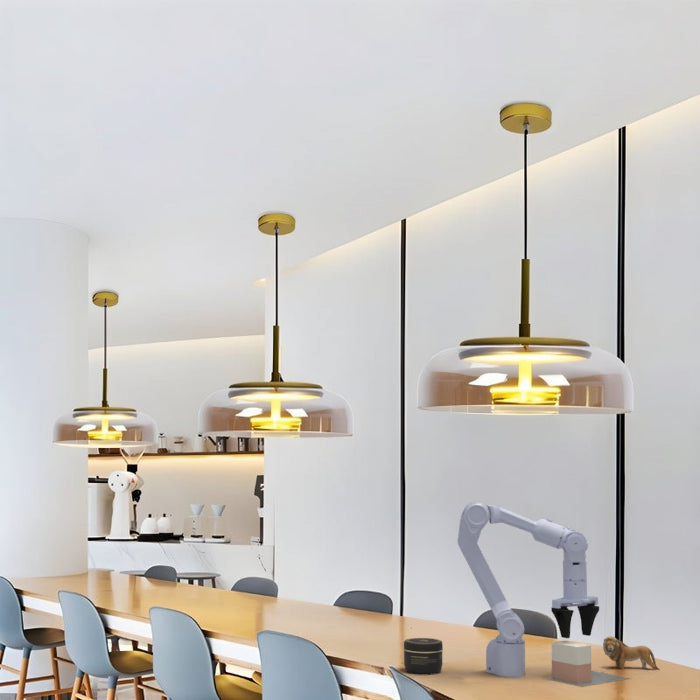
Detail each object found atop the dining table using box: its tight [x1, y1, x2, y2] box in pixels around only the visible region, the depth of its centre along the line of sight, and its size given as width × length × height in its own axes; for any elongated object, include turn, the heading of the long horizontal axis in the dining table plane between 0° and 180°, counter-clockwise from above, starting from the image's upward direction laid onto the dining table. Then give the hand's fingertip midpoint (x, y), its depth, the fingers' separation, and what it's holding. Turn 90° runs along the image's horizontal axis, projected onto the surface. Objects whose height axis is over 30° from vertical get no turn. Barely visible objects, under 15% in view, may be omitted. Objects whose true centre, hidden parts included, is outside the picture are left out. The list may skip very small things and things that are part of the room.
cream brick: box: [551, 640, 592, 665], centre depth 241 cm, size 8×5×4 cm, turn 36°
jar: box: [403, 637, 444, 675], centre depth 254 cm, size 10×10×8 cm
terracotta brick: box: [551, 659, 592, 684], centre depth 240 cm, size 8×5×4 cm, turn 36°
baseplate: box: [542, 670, 632, 688], centre depth 242 cm, size 12×18×1 cm, turn 126°
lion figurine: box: [602, 636, 661, 671], centre depth 256 cm, size 15×5×9 cm, turn 94°
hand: (576, 636), depth 246 cm, fingers open, 7 cm apart
